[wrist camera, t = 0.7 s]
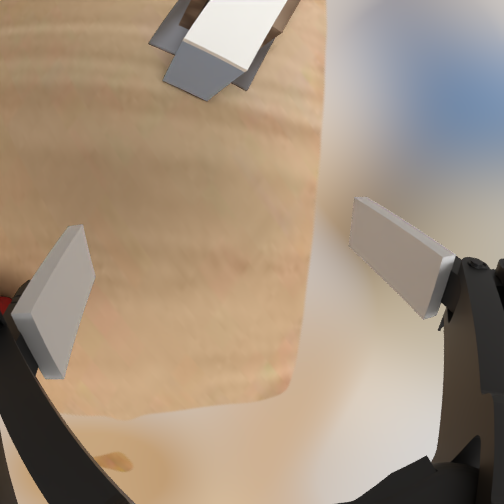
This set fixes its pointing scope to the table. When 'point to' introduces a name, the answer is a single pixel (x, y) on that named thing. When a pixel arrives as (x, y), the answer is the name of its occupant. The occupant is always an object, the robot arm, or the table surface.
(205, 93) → the white box
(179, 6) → the housing
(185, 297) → the table surface
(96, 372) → the table surface
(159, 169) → the table surface
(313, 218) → the table surface
